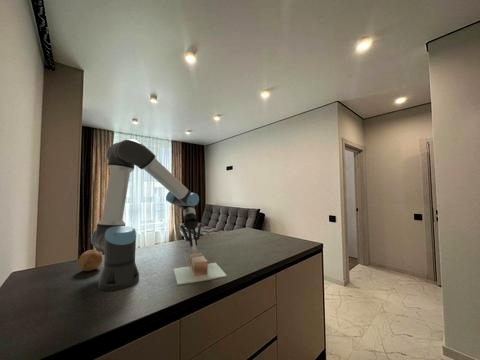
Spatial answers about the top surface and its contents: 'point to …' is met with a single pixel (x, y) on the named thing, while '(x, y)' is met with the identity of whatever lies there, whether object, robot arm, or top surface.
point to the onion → (90, 260)
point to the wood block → (198, 264)
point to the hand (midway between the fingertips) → (194, 251)
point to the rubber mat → (187, 276)
